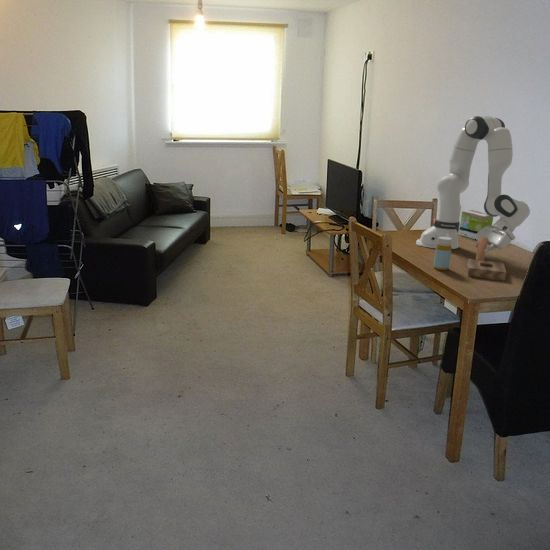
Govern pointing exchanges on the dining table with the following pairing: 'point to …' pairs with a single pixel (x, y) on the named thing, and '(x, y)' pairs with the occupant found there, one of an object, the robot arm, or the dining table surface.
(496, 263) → the socket block
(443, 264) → the bottle
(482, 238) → the peg
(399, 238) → the dining table surface
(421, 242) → the robot arm
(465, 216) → the tea box
